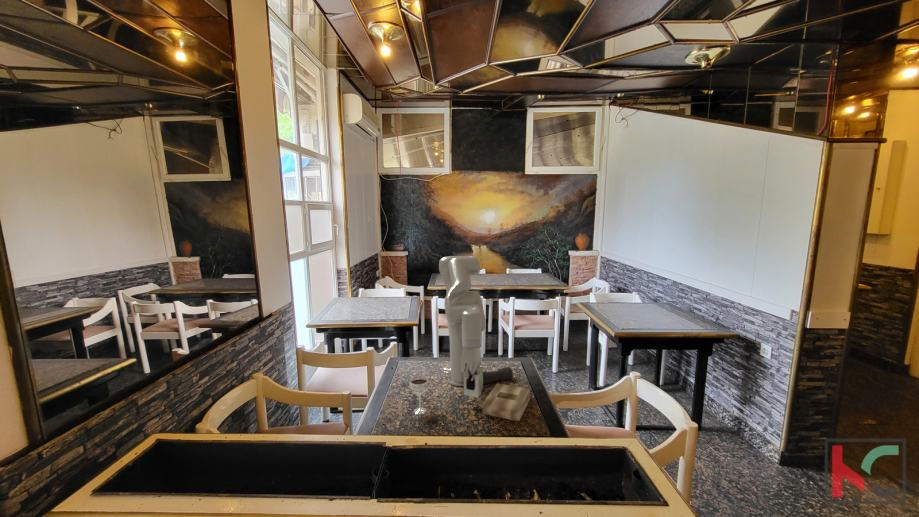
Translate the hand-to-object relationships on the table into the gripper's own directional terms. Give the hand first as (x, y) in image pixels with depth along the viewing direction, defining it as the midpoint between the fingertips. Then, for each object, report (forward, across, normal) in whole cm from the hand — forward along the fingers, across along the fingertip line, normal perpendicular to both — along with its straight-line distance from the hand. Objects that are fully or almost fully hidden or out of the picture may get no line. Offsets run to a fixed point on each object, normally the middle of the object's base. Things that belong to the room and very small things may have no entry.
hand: (472, 386), depth 132 cm
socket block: (+8, -5, +13) cm, 16 cm away
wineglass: (+8, +11, -17) cm, 22 cm away
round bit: (+8, -14, -3) cm, 17 cm away
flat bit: (+3, 0, 0) cm, 3 cm away
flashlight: (+9, -25, +2) cm, 27 cm away
